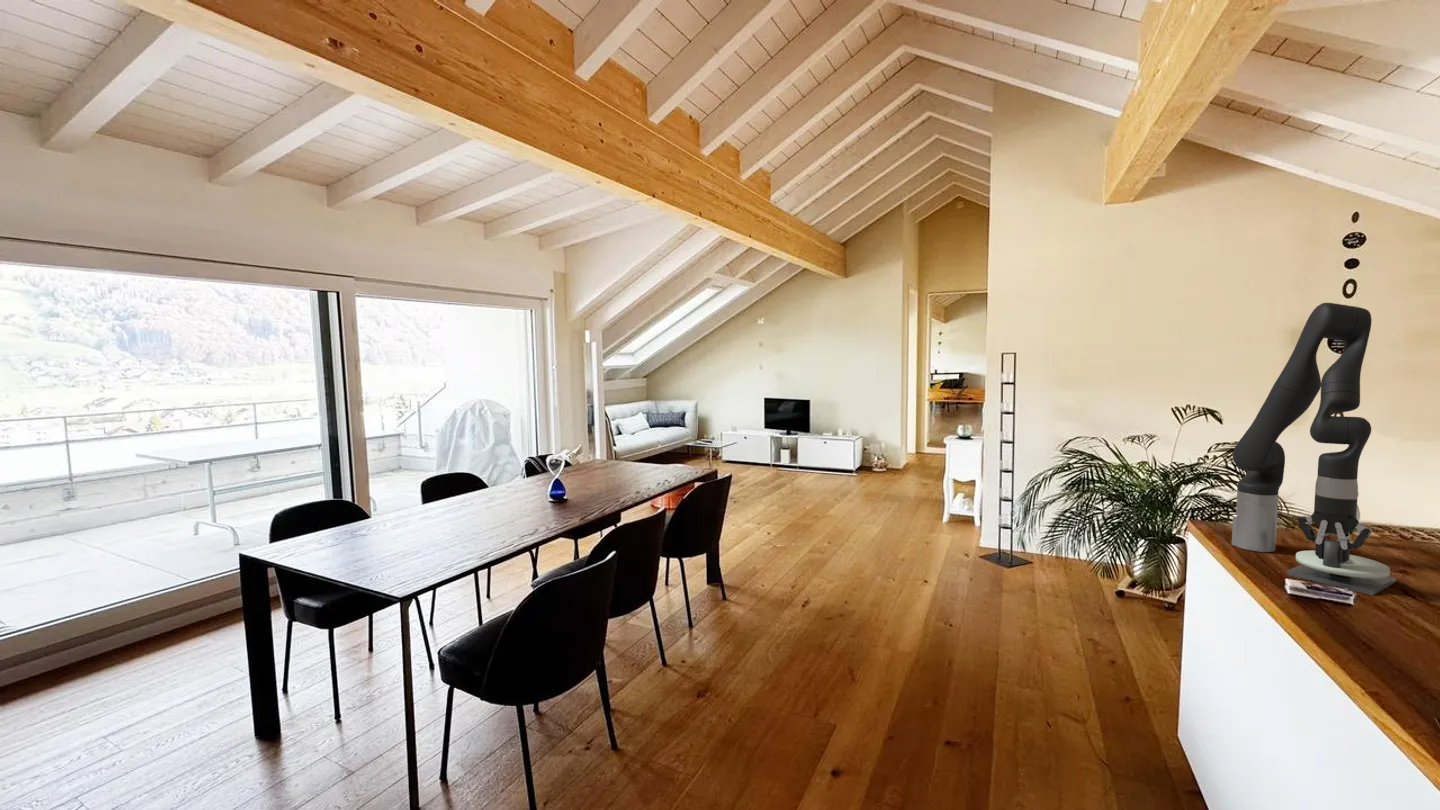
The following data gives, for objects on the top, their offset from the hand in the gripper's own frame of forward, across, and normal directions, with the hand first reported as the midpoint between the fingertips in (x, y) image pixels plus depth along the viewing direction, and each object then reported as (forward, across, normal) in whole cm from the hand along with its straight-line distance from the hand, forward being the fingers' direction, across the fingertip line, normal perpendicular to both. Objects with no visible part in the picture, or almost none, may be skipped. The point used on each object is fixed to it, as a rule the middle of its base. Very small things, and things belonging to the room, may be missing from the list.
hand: (1331, 560), depth 152 cm
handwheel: (+3, 0, +6) cm, 7 cm away
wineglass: (+6, -10, +46) cm, 48 cm away
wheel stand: (+6, 0, +6) cm, 9 cm away
